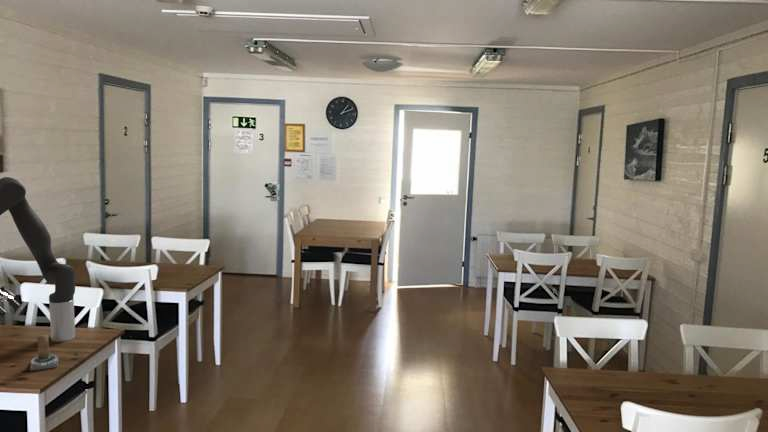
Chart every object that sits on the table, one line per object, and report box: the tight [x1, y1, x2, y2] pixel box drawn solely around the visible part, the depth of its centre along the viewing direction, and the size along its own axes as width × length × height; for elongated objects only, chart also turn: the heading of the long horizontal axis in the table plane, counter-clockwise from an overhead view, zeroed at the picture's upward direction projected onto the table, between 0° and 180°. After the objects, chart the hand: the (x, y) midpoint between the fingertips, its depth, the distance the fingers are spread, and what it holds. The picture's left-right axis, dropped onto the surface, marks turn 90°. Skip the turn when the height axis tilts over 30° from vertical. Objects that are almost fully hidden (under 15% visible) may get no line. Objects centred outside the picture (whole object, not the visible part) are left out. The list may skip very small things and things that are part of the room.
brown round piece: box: [36, 334, 53, 362], centre depth 219 cm, size 6×6×10 cm
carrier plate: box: [29, 354, 59, 372], centre depth 219 cm, size 9×9×2 cm
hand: (11, 311), depth 218 cm, fingers open, 8 cm apart
